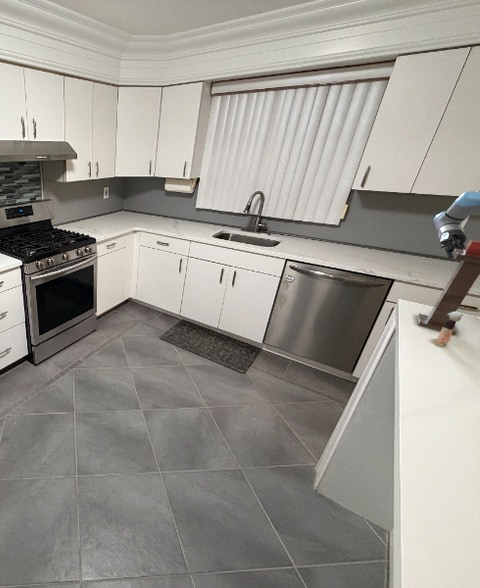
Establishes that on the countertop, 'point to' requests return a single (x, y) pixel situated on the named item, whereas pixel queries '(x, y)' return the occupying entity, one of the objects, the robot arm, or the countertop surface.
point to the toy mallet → (473, 248)
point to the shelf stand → (453, 291)
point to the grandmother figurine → (448, 328)
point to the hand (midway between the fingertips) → (464, 266)
